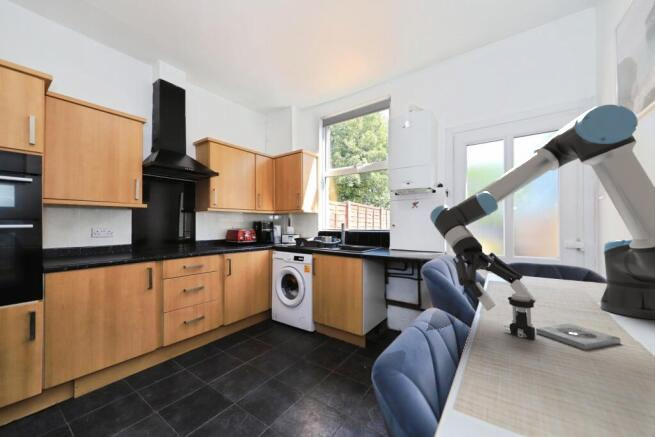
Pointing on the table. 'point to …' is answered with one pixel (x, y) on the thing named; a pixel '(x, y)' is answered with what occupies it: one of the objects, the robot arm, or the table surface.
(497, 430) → the table surface
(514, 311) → the push button
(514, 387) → the table surface
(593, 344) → the flange plate
